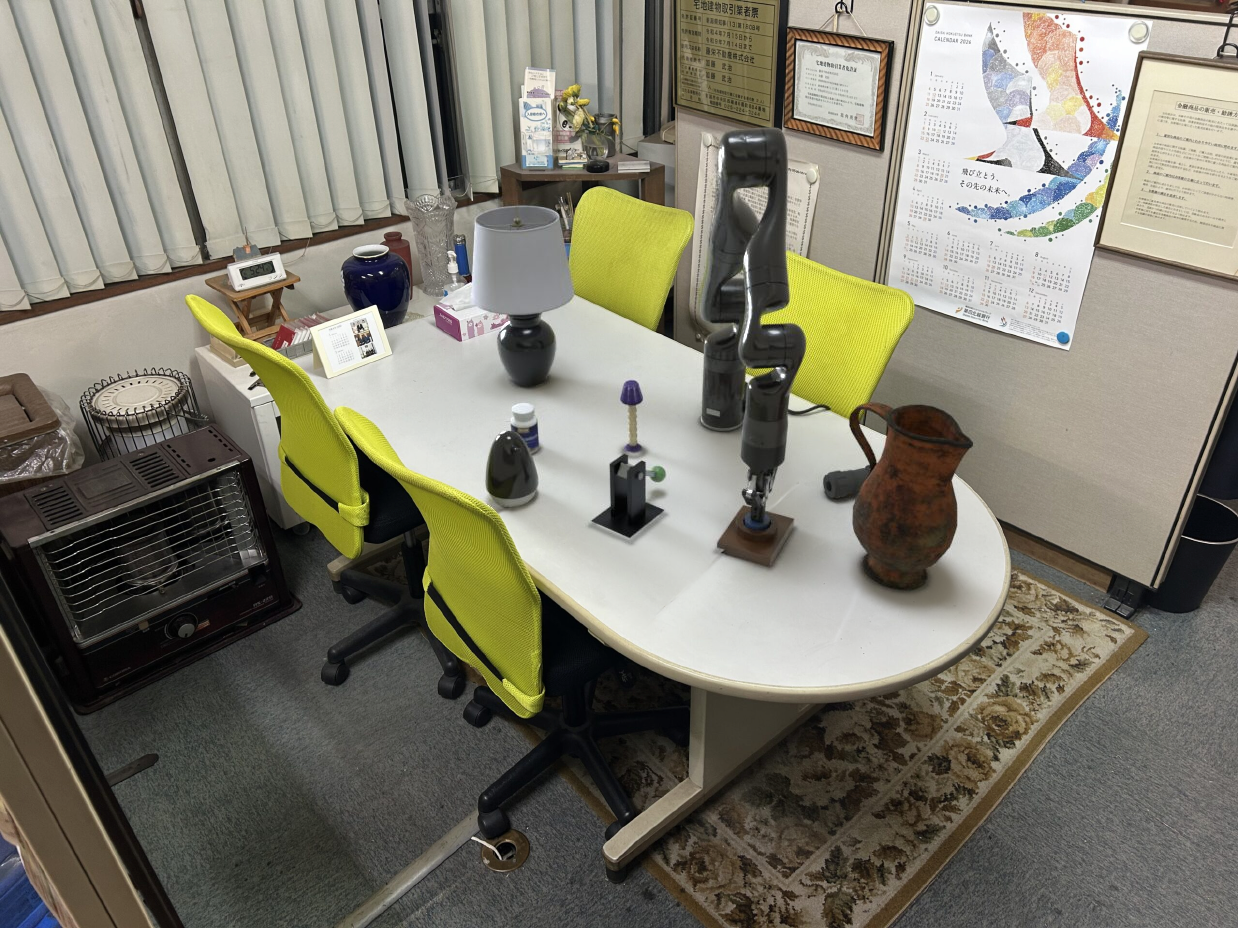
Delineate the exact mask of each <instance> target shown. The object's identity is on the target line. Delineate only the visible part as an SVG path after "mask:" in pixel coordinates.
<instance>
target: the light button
mask: <svg viewBox="0 0 1238 928" xmlns="http://www.w3.org/2000/svg"><path fill="white" fill-rule="evenodd" d="M750 514H751V513H748V514H747V515H746V516H745V526H746V527H748V528H749V529H753V530H765V529H767V528H769V522H770V518H769V517H768V515H766V514H765V517H764V518H763V520H762V521H761V522H758V521H754V520H752V519H751V518H750Z"/></svg>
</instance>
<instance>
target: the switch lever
mask: <svg viewBox="0 0 1238 928" xmlns="http://www.w3.org/2000/svg"><path fill="white" fill-rule="evenodd" d="M634 465H635V464H631V463H629V462H628V463H621V464H620V467H619V471H618V474H617V475H618V476H621V477H623V478H626V479H627V470H629V469H630V468H632V467H633V466H634ZM666 476H667V472H666V470H665V468H664V467H663V466H661V465H653V466H652V467H651V469H646V477H649V479H650V480H651V481H652V482H654V483H661V482H663V481H664V480H665V479H666Z"/></svg>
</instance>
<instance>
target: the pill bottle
mask: <svg viewBox="0 0 1238 928" xmlns="http://www.w3.org/2000/svg"><path fill="white" fill-rule="evenodd" d="M511 415H512V417H510V431H514V432H516V433H518V434H519V435H520V436H521V437H522V438H523V440H524V441H525V443H526V444H527V446H528V448H529V450H530V452H531V455H532V454H534V453H536V452H537V451H538V450H539V448H540V437H539V421H538V417H537V415H536V414H535V407H534V405H533V404H531V403H528V402H520V403H517V404H514V405H513V406H512V407H511Z"/></svg>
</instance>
